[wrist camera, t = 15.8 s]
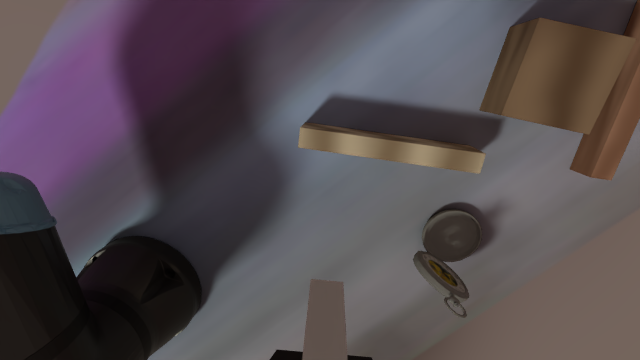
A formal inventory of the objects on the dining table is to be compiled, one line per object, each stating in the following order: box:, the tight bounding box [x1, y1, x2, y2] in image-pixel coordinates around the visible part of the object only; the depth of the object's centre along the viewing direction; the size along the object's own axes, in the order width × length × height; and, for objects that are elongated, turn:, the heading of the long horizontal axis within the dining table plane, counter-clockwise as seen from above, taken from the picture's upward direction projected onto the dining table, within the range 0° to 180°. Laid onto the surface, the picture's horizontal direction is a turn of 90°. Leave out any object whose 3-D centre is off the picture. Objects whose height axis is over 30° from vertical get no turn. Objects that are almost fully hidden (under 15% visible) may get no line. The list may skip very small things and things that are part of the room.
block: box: [480, 18, 636, 134], centre depth 29 cm, size 8×8×5 cm
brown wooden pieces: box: [298, 0, 640, 180], centre depth 28 cm, size 32×27×4 cm
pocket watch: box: [413, 209, 482, 318], centre depth 32 cm, size 8×8×10 cm
